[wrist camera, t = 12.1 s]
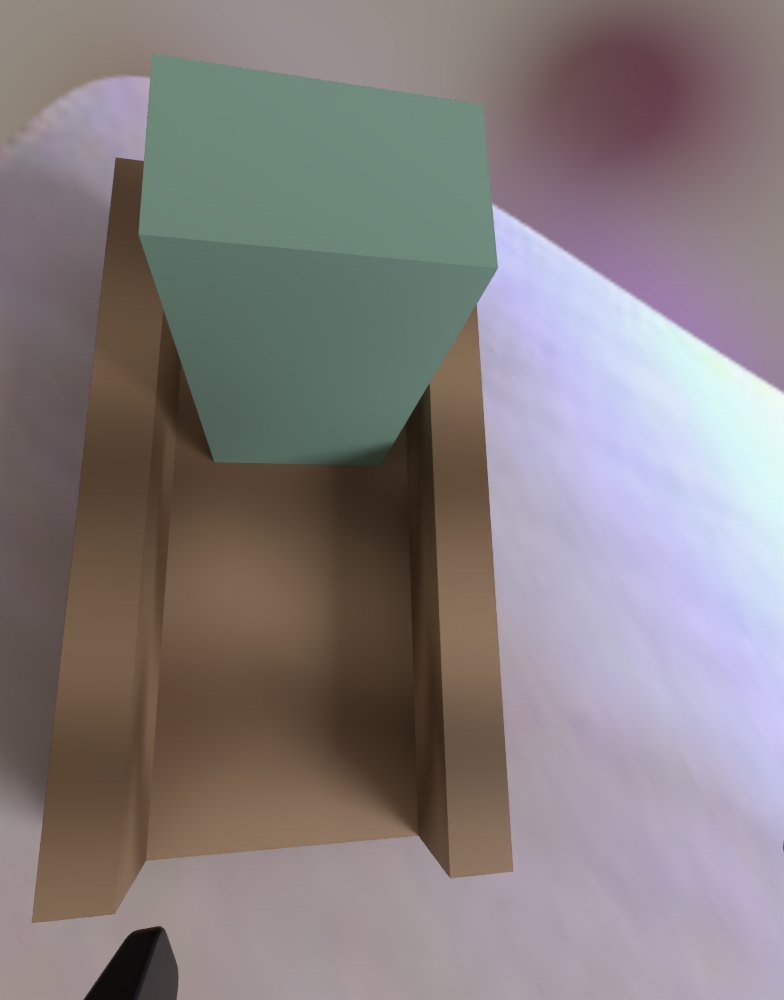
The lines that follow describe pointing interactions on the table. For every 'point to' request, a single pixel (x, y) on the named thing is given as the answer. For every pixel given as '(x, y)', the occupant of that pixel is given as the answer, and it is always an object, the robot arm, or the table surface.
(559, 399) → the table surface
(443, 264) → the book
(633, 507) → the table surface
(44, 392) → the table surface
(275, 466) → the tray
